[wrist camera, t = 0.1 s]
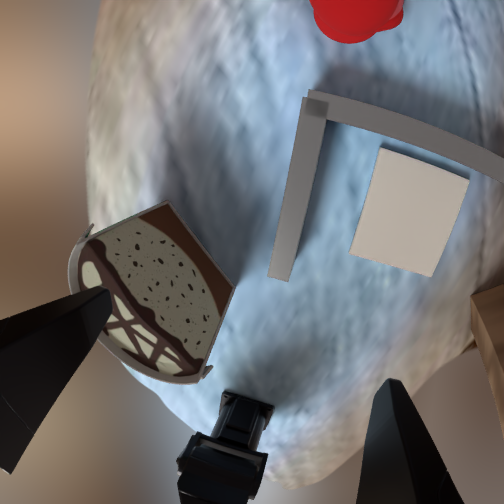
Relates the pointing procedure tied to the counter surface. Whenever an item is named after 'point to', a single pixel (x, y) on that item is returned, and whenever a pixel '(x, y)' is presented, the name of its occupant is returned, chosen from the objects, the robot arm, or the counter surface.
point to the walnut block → (491, 339)
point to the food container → (155, 293)
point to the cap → (356, 18)
